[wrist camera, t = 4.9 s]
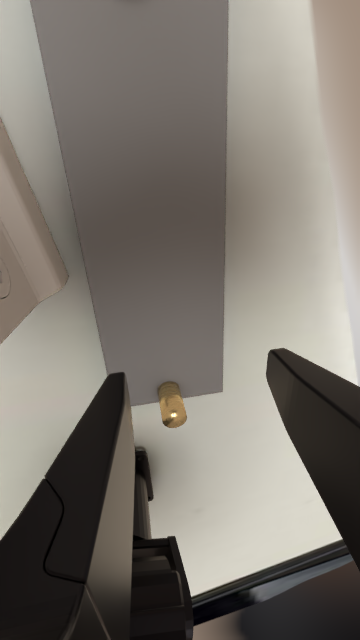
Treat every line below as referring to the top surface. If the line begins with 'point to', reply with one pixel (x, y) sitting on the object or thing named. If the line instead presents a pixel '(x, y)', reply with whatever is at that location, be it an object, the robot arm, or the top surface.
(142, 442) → the top surface
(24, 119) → the top surface
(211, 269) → the plate
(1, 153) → the curved beige panel
